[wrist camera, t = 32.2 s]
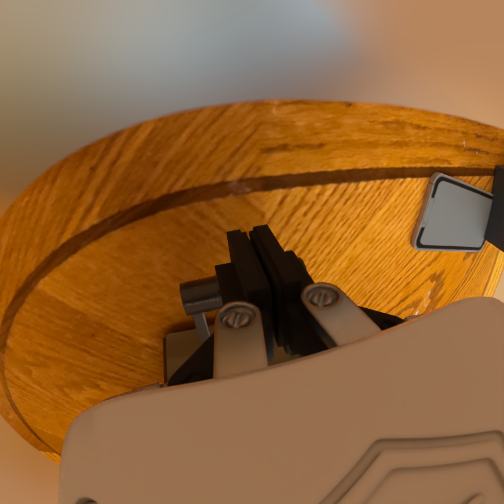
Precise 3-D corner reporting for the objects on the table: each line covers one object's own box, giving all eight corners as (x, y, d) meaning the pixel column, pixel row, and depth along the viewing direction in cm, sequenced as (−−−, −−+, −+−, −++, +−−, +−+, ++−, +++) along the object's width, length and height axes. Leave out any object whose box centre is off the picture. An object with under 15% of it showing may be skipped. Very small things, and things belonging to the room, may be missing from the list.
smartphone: (481, 252, 27) (411, 250, 22) (476, 249, 27) (405, 246, 23) (500, 197, 23) (436, 171, 19) (495, 194, 24) (429, 168, 20)
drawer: (135, 254, 16) (119, 334, 10) (315, 217, 18) (376, 273, 12) (206, 417, 26) (217, 472, 21) (308, 391, 28) (331, 441, 22)
